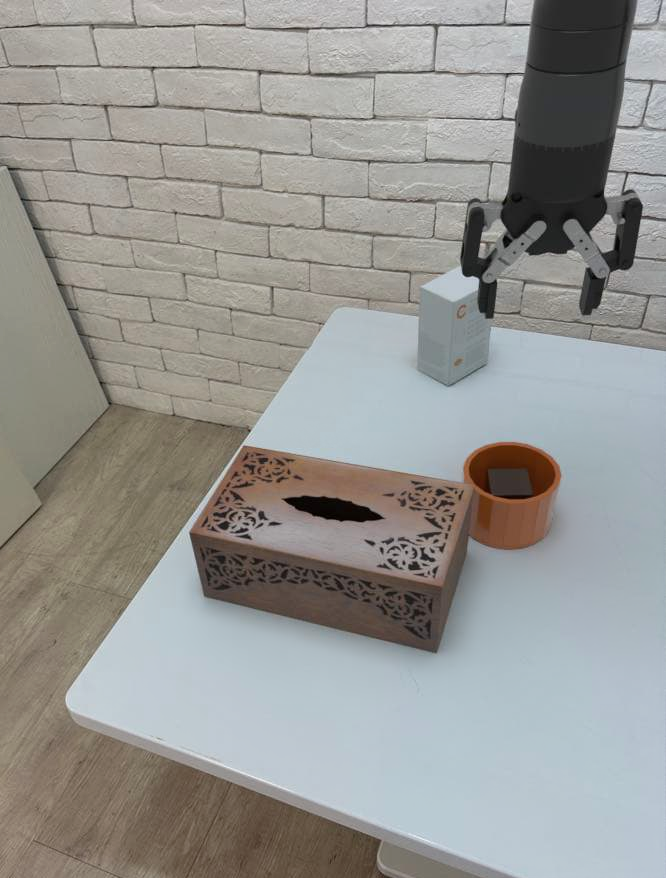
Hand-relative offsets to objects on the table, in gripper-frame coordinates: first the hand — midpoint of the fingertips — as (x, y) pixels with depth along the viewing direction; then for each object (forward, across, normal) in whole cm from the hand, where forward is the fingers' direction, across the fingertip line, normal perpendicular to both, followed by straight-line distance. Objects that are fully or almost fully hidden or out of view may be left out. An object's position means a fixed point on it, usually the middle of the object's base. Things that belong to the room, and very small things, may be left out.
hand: (536, 312), depth 74 cm
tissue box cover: (+26, -19, -9) cm, 34 cm away
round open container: (+26, 0, 0) cm, 26 cm away
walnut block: (+26, 0, 0) cm, 26 cm away
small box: (+26, -4, +31) cm, 41 cm away
